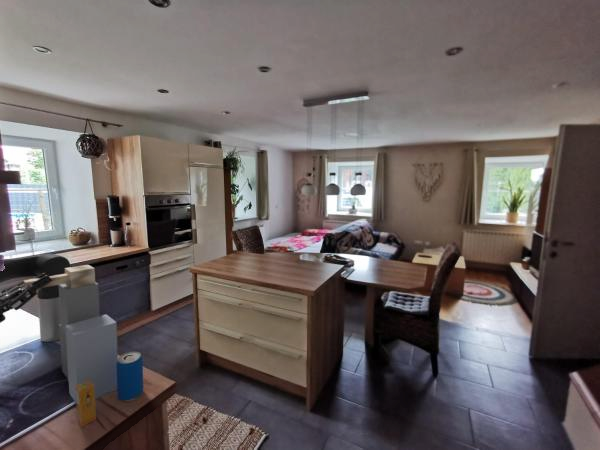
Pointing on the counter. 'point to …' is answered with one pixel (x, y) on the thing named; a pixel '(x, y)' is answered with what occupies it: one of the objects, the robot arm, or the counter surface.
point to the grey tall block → (92, 354)
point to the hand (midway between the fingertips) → (48, 276)
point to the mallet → (71, 277)
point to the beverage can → (129, 376)
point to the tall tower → (76, 311)
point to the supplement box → (85, 402)
